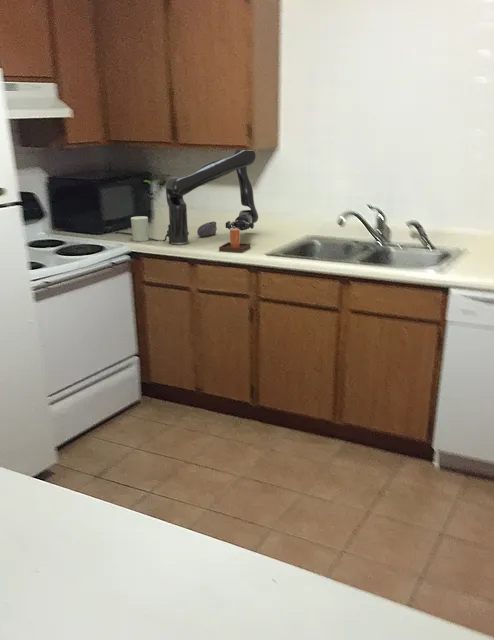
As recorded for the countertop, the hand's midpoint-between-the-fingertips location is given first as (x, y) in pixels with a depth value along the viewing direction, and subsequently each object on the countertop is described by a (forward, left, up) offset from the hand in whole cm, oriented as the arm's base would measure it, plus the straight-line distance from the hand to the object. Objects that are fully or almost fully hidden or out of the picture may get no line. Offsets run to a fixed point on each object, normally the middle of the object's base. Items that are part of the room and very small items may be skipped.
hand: (237, 227), depth 336 cm
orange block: (+1, -7, -9) cm, 11 cm away
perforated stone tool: (-26, +20, -10) cm, 35 cm away
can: (-56, 0, -10) cm, 57 cm away
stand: (+1, -7, -10) cm, 12 cm away
